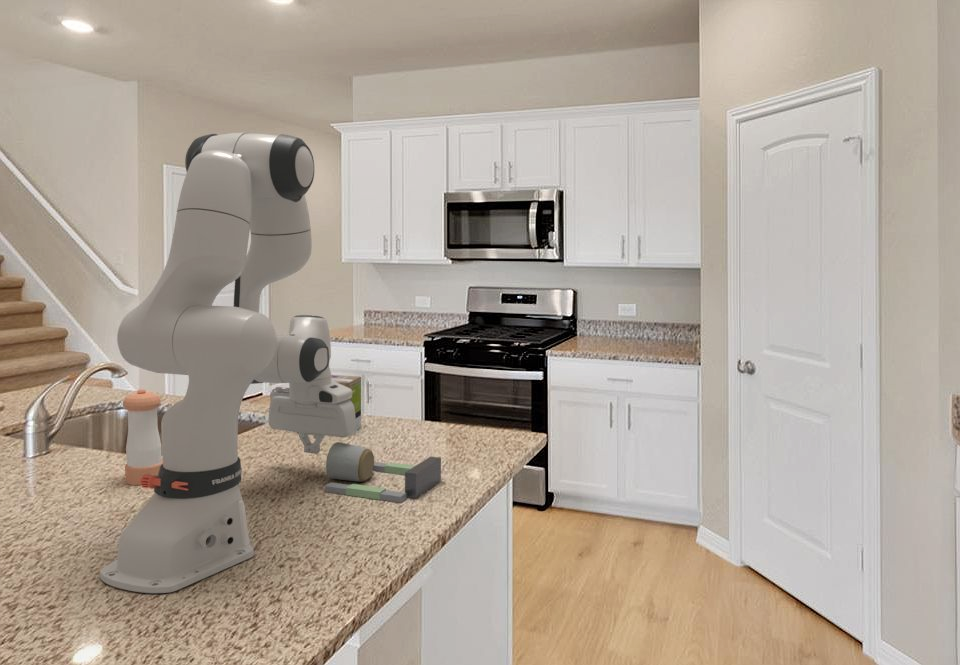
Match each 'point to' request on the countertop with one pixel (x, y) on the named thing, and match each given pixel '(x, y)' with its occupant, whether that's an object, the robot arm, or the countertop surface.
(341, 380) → the tea box
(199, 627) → the countertop surface
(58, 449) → the countertop surface
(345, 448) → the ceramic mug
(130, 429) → the pepper shaker
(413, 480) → the dark grey rectangular block
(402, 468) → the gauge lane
